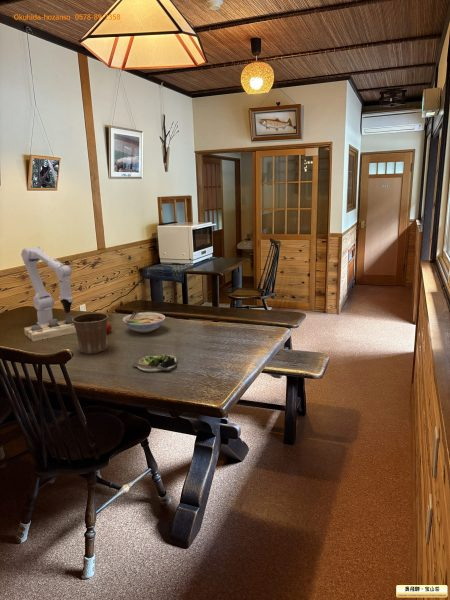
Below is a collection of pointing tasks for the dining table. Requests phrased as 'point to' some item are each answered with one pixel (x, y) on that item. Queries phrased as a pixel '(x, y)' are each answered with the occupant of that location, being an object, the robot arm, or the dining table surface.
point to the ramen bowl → (144, 321)
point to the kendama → (108, 328)
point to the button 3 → (69, 320)
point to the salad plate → (156, 363)
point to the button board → (50, 331)
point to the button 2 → (53, 323)
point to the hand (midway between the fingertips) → (67, 312)
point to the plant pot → (91, 332)
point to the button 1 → (36, 327)
